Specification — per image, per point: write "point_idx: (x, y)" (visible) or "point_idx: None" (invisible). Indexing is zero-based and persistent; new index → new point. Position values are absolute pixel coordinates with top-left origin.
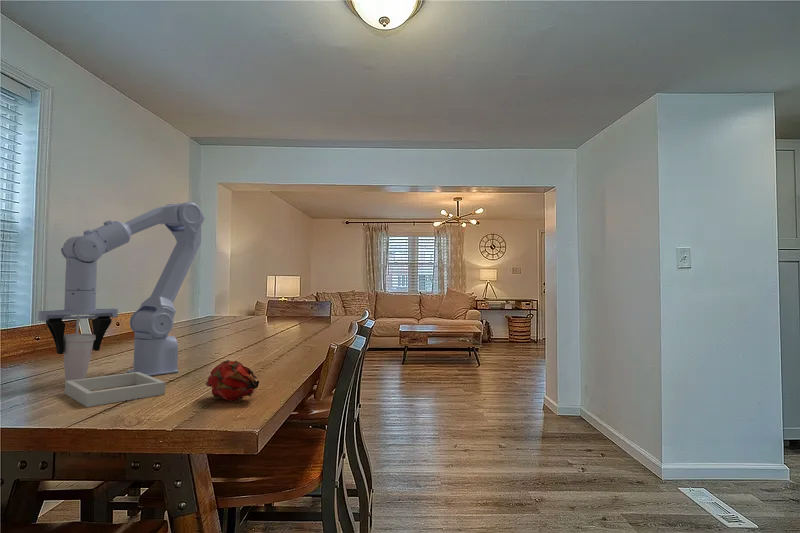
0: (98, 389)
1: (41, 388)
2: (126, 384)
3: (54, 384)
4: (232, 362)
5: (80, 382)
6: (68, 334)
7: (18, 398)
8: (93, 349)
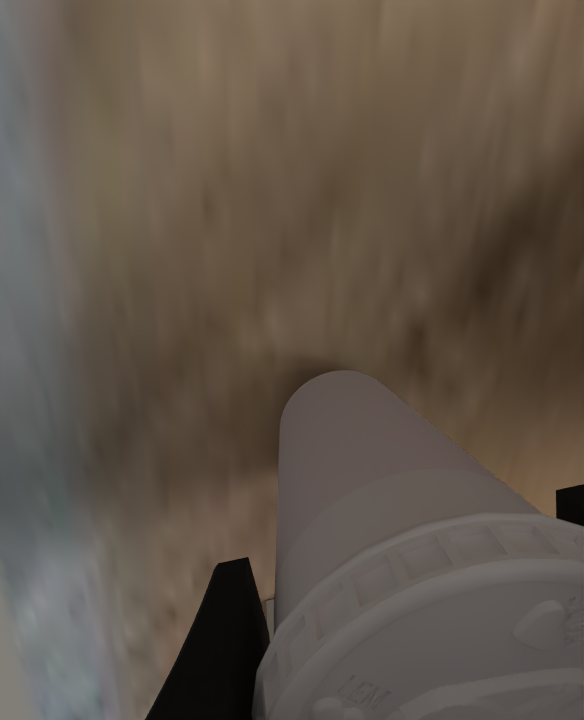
0: None
1: (147, 424)
2: None
3: (217, 335)
4: None
5: None
6: (363, 644)
7: (60, 612)
8: (559, 511)
